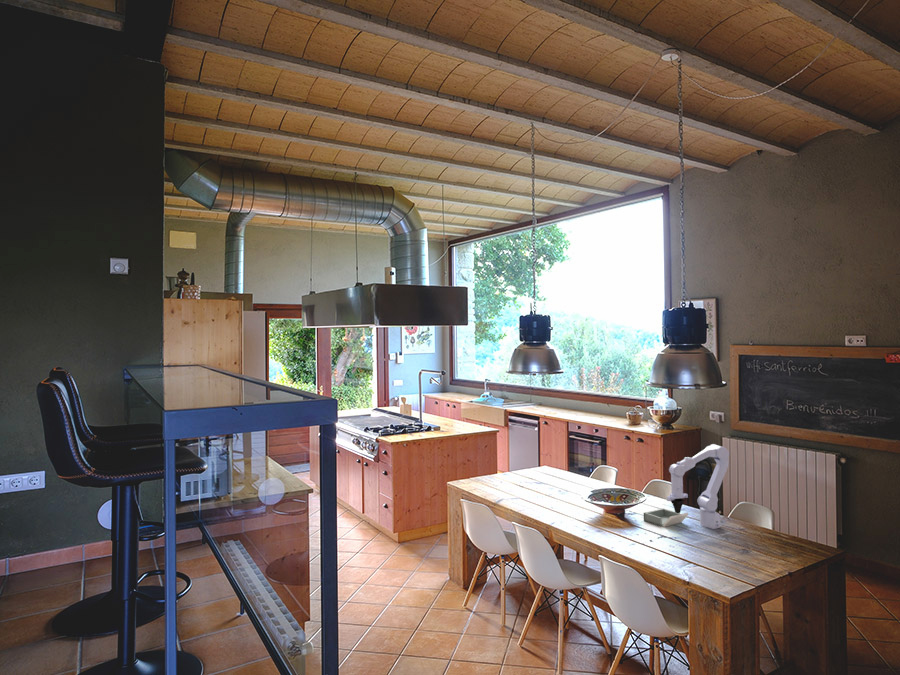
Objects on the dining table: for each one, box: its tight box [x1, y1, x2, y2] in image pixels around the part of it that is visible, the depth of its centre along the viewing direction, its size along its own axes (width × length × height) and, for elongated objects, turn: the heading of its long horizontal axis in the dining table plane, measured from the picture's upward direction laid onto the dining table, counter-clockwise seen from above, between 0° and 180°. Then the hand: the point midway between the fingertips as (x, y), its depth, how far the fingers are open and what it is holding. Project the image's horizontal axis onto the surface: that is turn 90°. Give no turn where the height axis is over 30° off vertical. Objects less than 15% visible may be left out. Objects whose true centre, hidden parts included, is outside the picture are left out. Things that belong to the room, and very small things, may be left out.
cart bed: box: [643, 508, 681, 527], centre depth 298 cm, size 11×16×5 cm
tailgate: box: [661, 512, 690, 528], centre depth 291 cm, size 8×14×1 cm
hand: (677, 512), depth 290 cm, fingers closed
